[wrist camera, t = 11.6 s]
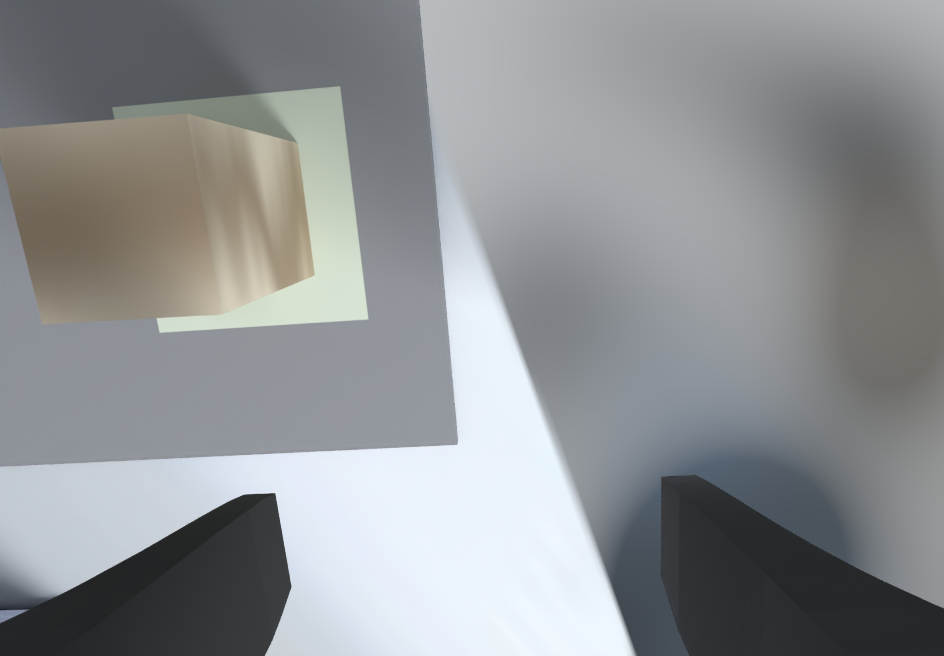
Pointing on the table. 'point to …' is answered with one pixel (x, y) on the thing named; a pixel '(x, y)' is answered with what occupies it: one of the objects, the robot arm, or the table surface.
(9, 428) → the mat
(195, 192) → the birch block
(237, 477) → the table surface
